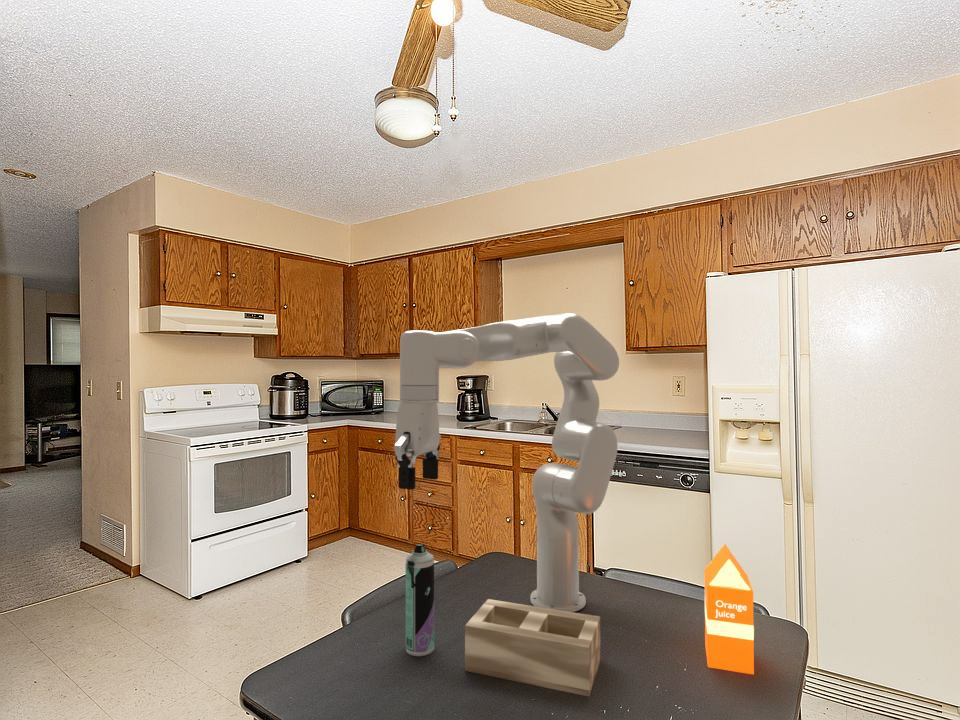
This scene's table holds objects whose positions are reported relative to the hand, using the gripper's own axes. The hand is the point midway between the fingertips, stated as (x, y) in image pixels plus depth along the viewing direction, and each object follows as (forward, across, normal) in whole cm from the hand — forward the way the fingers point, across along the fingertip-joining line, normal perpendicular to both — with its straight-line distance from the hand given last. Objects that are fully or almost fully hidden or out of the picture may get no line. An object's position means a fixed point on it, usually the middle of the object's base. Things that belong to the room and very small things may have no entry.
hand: (419, 483), depth 107 cm
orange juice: (+32, -17, +55) cm, 66 cm away
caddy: (+32, -2, +22) cm, 39 cm away
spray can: (+32, 0, 0) cm, 32 cm away
